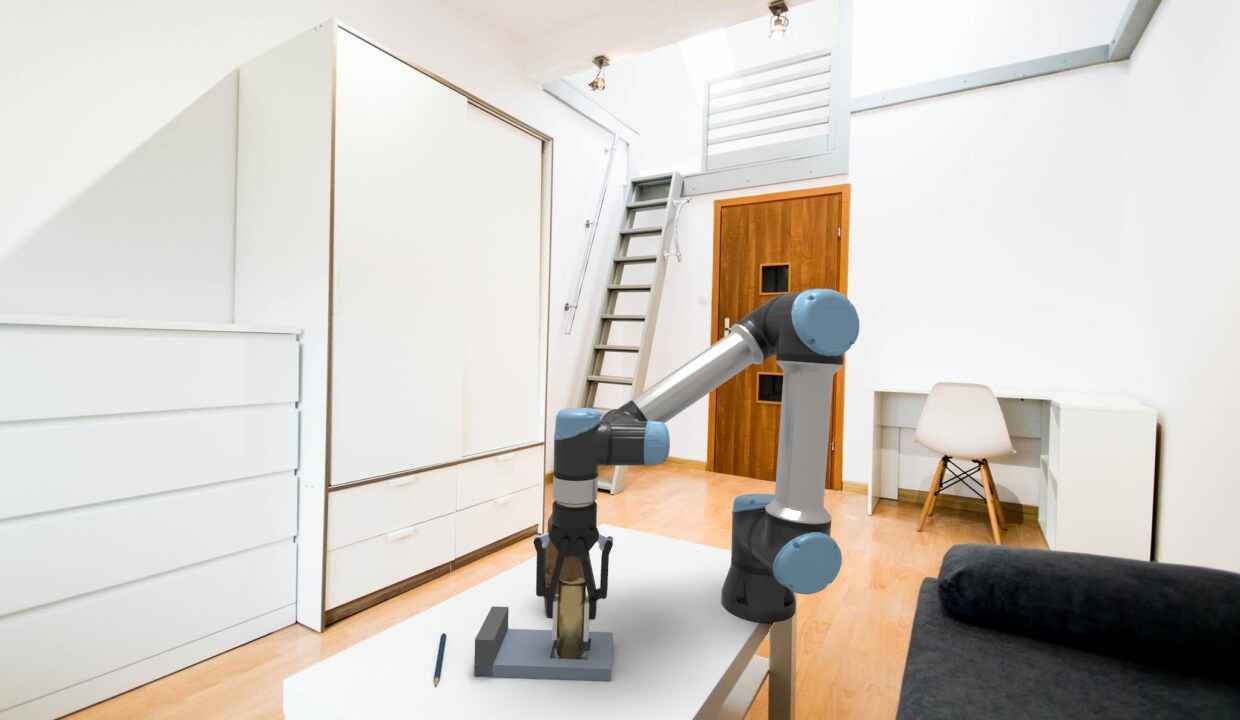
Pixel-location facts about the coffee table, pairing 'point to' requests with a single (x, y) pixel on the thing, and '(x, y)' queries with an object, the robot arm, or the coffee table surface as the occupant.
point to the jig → (536, 653)
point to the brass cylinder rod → (571, 617)
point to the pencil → (439, 659)
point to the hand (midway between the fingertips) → (570, 636)
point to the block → (569, 567)
